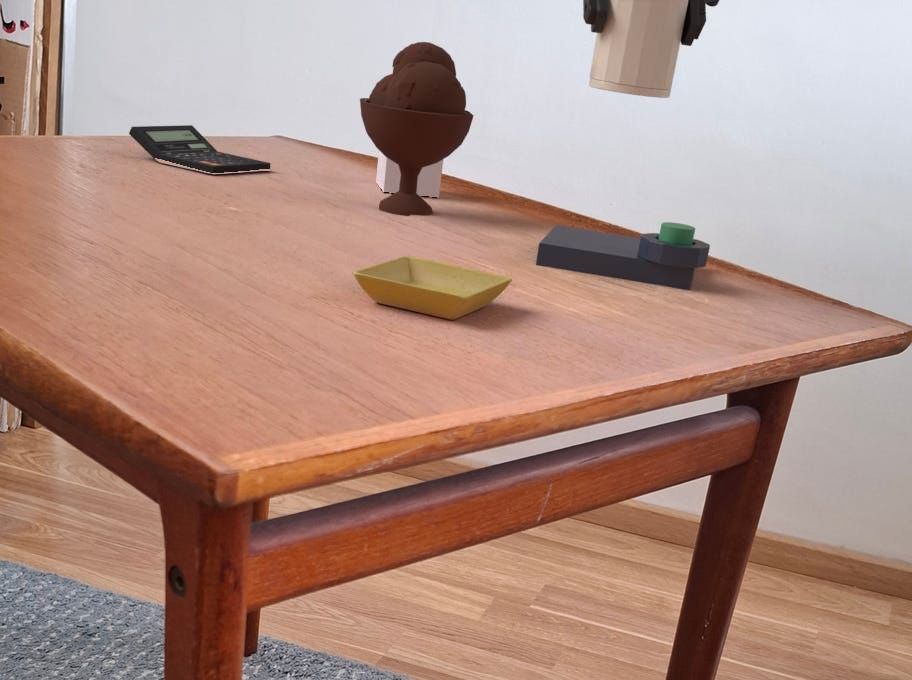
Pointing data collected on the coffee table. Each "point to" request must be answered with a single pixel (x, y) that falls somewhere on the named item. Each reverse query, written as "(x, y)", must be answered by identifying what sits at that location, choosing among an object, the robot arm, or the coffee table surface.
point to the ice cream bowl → (416, 119)
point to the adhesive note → (391, 177)
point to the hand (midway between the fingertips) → (645, 30)
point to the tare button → (676, 233)
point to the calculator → (190, 149)
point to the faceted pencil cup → (639, 47)
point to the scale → (622, 256)
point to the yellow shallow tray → (430, 286)
